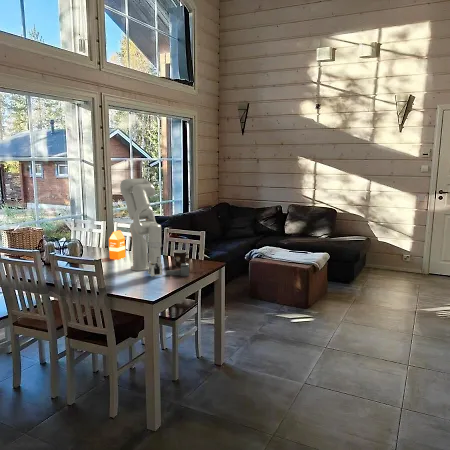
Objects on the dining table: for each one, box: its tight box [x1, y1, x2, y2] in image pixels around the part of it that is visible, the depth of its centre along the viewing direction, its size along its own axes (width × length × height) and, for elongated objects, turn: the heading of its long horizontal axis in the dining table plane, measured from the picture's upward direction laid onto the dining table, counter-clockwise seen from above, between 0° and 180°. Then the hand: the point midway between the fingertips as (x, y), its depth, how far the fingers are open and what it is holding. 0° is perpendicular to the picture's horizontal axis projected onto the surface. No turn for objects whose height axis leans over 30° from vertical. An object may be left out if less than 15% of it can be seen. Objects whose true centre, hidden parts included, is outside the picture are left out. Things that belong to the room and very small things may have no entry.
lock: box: [147, 261, 163, 277], centre depth 250 cm, size 6×7×8 cm
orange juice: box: [108, 229, 126, 261], centre depth 296 cm, size 8×9×20 cm
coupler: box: [165, 262, 190, 277], centre depth 254 cm, size 7×14×7 cm, turn 95°
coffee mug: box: [173, 249, 192, 268], centre depth 274 cm, size 12×9×10 cm
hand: (155, 272), depth 251 cm, fingers closed on lock, 6 cm apart
